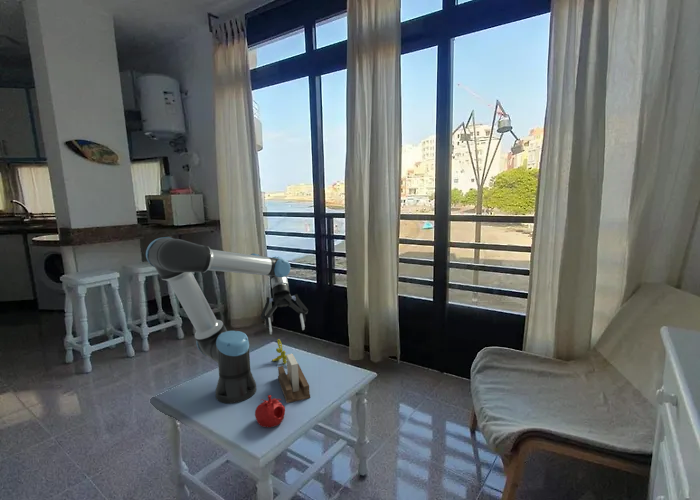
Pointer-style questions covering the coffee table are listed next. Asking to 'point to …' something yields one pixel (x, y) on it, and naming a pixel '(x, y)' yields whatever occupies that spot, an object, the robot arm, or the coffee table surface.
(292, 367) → the cream rectangular block
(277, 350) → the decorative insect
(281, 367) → the rack
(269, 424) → the pomegranate
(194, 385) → the coffee table surface
